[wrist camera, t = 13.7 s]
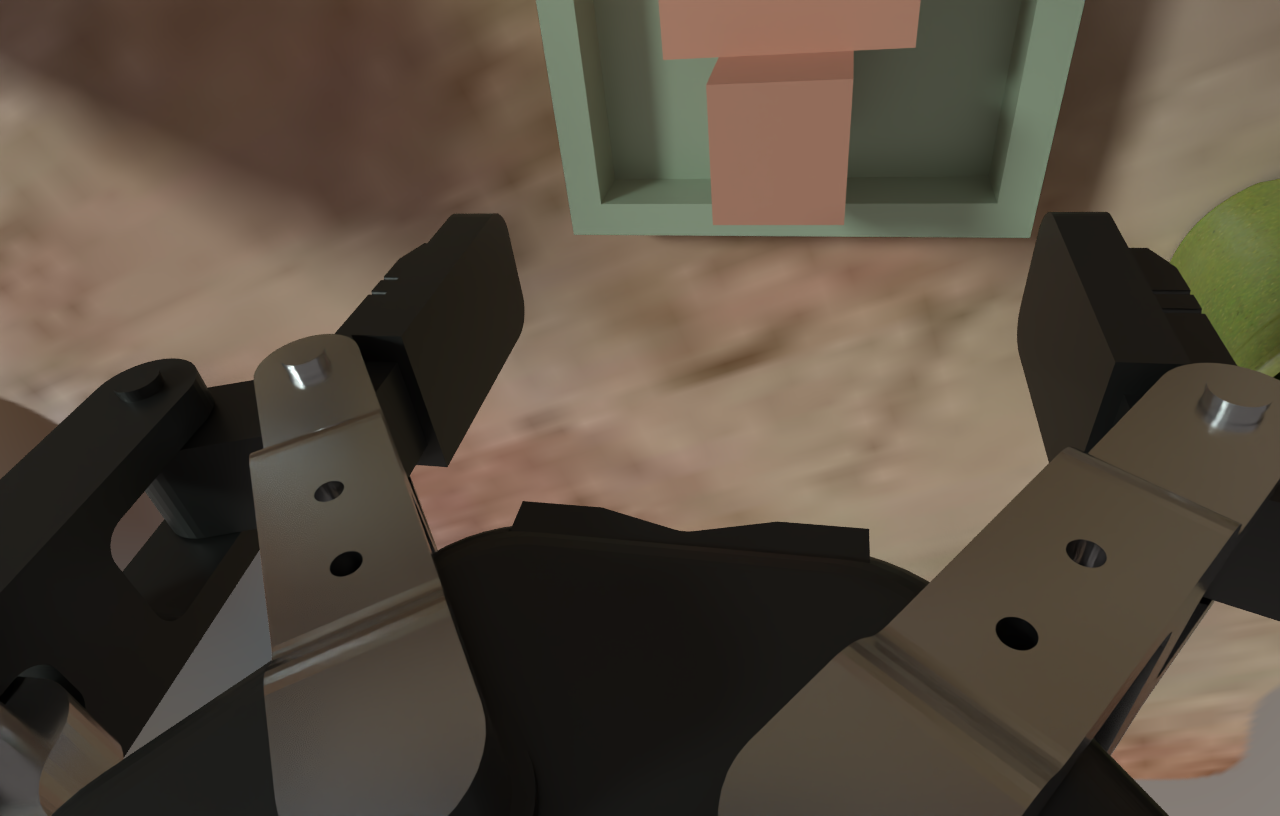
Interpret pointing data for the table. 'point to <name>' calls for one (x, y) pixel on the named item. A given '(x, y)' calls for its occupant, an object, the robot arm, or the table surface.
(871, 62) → the tray
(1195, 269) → the plant pot
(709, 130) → the collar
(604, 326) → the table surface
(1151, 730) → the table surface
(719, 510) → the table surface
